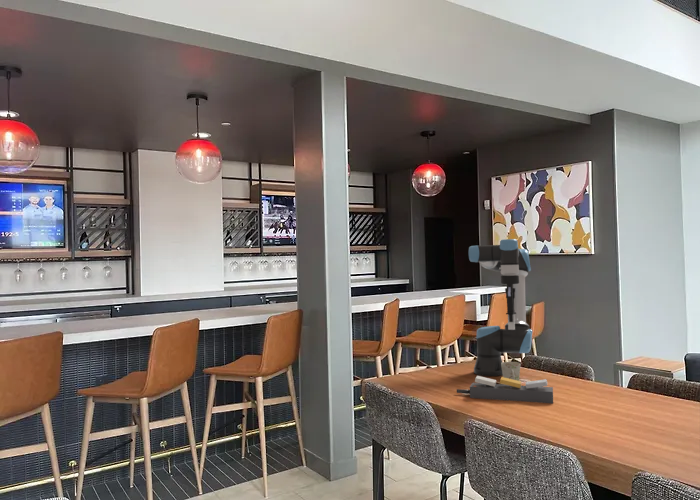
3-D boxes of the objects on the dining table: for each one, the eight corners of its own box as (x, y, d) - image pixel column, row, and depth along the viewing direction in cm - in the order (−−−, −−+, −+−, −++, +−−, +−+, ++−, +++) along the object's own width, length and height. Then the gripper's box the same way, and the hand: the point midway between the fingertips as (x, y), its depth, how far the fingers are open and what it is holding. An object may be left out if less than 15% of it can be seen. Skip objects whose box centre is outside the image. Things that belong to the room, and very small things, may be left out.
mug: (518, 383, 240) (518, 361, 241) (525, 390, 228) (524, 367, 228) (500, 383, 241) (499, 361, 241) (505, 390, 229) (504, 367, 229)
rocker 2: (501, 380, 220) (501, 376, 219) (520, 385, 217) (521, 381, 217) (499, 383, 215) (500, 379, 215) (520, 388, 212) (520, 384, 212)
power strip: (458, 392, 227) (458, 379, 227) (553, 398, 213) (552, 385, 214) (455, 396, 220) (455, 383, 220) (553, 403, 206) (552, 389, 206)
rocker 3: (527, 385, 216) (526, 381, 216) (547, 383, 213) (546, 379, 213) (526, 388, 211) (525, 384, 211) (547, 385, 208) (546, 381, 208)
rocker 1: (476, 379, 223) (477, 375, 223) (495, 383, 220) (496, 380, 220) (474, 381, 218) (475, 378, 218) (494, 386, 216) (495, 382, 216)
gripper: (502, 274, 236) (503, 327, 236) (499, 275, 224) (501, 331, 224) (519, 274, 234) (521, 327, 233) (517, 275, 222) (519, 331, 221)
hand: (511, 329), depth 228 cm, fingers closed
